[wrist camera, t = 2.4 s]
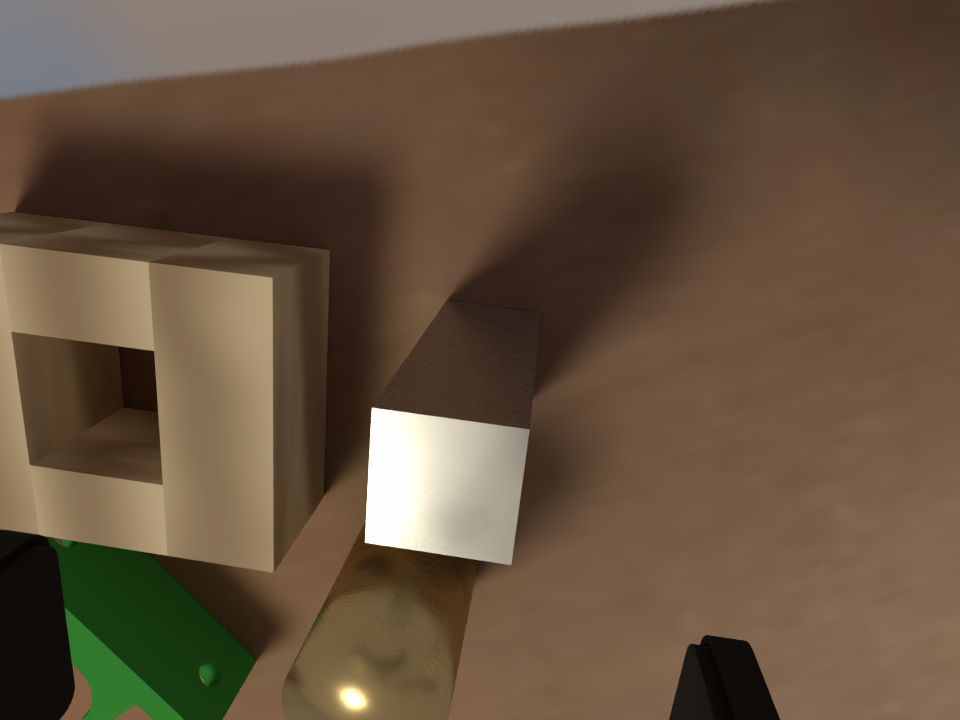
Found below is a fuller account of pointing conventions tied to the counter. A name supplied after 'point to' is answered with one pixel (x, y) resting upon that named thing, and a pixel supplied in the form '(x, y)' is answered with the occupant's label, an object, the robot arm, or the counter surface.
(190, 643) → the pipe clamp
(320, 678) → the round bit
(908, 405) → the counter surface
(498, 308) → the square bit
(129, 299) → the socket block
